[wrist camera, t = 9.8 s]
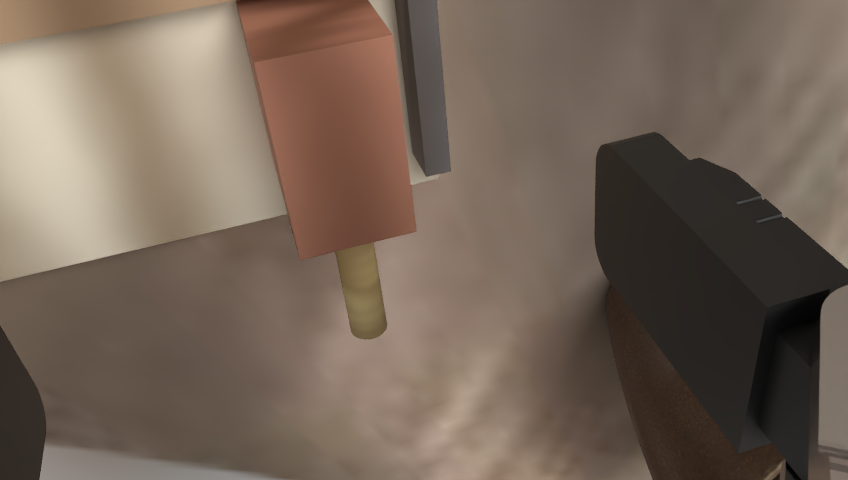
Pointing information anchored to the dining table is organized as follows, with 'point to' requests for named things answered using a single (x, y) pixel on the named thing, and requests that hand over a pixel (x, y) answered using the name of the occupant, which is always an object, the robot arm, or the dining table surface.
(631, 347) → the plant pot
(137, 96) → the board
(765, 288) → the robot arm
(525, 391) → the dining table surface
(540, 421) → the dining table surface
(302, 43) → the reddish-brown block with stick
